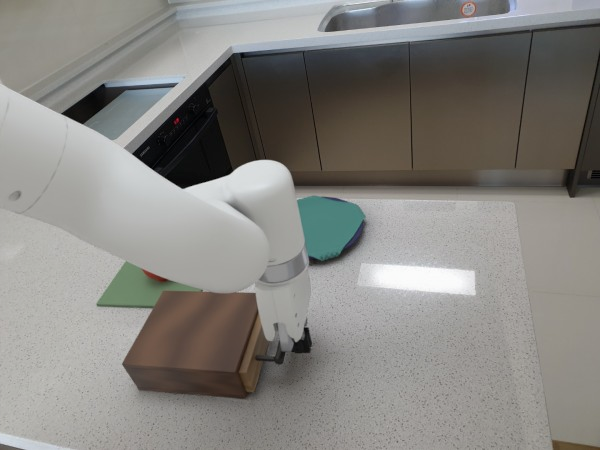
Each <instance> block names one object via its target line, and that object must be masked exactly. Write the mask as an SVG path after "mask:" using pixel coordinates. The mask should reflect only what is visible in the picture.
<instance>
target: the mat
mask: <svg viewBox="0 0 600 450" xmlns="http://www.w3.org/2000/svg"><path fill="white" fill-rule="evenodd" d="M163 291H203V290H202V289H198V288H195V287H191V286H187V285H184V284H180V283H177V282H174V281H171V280H168V281H165V282H159V281H157V280H154V279H151V278H149V277H148V276H146V275H145V274H144V272H143V271H142V269H141V268H140V267H137V266H135V265H133V264H131V263H129V262H127V261H125V262H124V263H123V264H122V266H121V267H120V269H119V270H118V272H117V273H116V275H115V276H114V277H113V279H112V280H111V282H110V283H109V284H108V286H107V287H106V289H105V291H104V292H103V293H102V295H101V296H100V298H99V299H98V301H97V302H96V303H95V305H96V306H97V307H113V308H114V307H117V308H144V309H145V308H146V309H153V308H154V306H155V304H156V302H157V301H158V299H159V297H160V295H161V293H162V292H163Z"/></svg>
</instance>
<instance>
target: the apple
mask: <svg viewBox="0 0 600 450" xmlns="http://www.w3.org/2000/svg"><path fill="white" fill-rule="evenodd" d="M141 269H142V268H141ZM142 271H143V272H144V274H145V275H146V276H148V277H149V278H151V279H154V280H157V281H159V282H165V281H168V279H165V278H163V277H160V276H158V275H155V274H153V273H151V272H148V271H146V270H144V269H142Z"/></svg>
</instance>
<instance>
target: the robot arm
mask: <svg viewBox="0 0 600 450" xmlns="http://www.w3.org/2000/svg"><path fill="white" fill-rule="evenodd" d="M297 200H298V199H297V194H296V189H295V184H294V180H293V176H292V173H291V172H290V170H289V169H288V167H286V165H284V164H283V163H281V162H279V161H276V160H273V159H259V160H253V161H250V162H247V163H244V164H241V165H240V166H238V167H237V168H235V169H234V170H233V171H232V172H231V173H230V174H228V175H225V176H222V177H219V178H216V179H212V180H209V181H206V182H202V183H201V182H200V183H198V184H194V185H192V186H188V187H185V188H181V187H180V186H179V185H176V184H175V183H173V182H172V181H170V180H168V179H167V178H165V177H164V176H162V175H161V174H159V173H158V172H156V171H155V170H153V169H152V168H150V167H149V166H148V165H147V164H145V163H144V162H143V161H142V160H140V159H139V158H137V156H135V155H133V154H132V153H131V152H130V151H128V150H127V149H126V148H124V147H122V146H121V145H120V144H118V143H117V142H115V141H113V140H111V139H110V138H109V137H107V136H105V135H103V134H102V133H100V132H99V131H96V130H95V129H92V128H90V127H89V126H86V125H85V124H82V123H80V122H78V121H76V120H74V119H72V118H70V117H68V116H66V115H64V114H62V113H59V112H57V111H55V110H53V109H51V108H50V107H47V106H46V105H43V104H41V103H39V102H37V101H35V100H34V99H32V98H29V97H27V96H25V95H23V94H21V93H19V92H17V91H15V90H13V89H11V88H10V87H8V86H7V85H5V84H2V83H0V209H1V210H2V209H3V210H5V211H9V212H12V213H15V214H17V215H20V216H24V217H27V218H30V219H33V220H36V221H39V222H42V223H45V224H47V225H51V226H53V227H56V228H58V229H61V230H63V231H65V232H67V233H68V234H70V235H72V236H74V237H75V238H76V239H79V240H80V241H82V242H84V243H86V244H89V245H90V246H93V247H94V248H98V249H100V250H102V251H104V252H106V253H109V254H111V255H113V256H115V257H117V258H119V259H121V260H123V261H125V262H126V261H127V262H129V263H131V264H133V265H135V266H137V267H140V268H142V269H144V270H146V271H148V272H151V273H153V274H155V275H158V276H160V277H163V278H165V279H168V280H171V281H174V282H177V283H180V284H184V285H187V286H191V287H195V288H198V289H202V291H204V292H214V293H234V292H242V291H245V290H246V289H248V288H250V287H252V286H253V285H254V290H255V292H254V293H256V300H257V306H258V311H259V316H260V320H261V324H262V328H263V332H264V335H265V338H266V339H267V340H268V341H269V342H274V340H275V336H276V333H277V332H278V333H277V334H278V340H280V346H281V351H282V352H286V353H293V354H296V355H297V354H299V355H301V354H311V351H312V347H313V341H312V338H311V332H310V327H309V326H308V311H309V307H310V302H311V295H312V284H311V279H310V274H309V269H308V268H309V265H310V259H309V258H308V253H307V248H306V243H305V238H304V233H303V228H302V223H301V218H300V213H299V208H298V203H297Z"/></svg>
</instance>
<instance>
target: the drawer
mask: <svg viewBox="0 0 600 450" xmlns="http://www.w3.org/2000/svg"><path fill="white" fill-rule="evenodd" d="M269 343H270V341H268V340H267V339H266V338H265V335H264V332H263V328H262V324H261V320H260V316H259V312H258V315H257V316H256V319H255V322H254V325H253V328H252V331H251V334H250V337H249V340H248V343H247V346H246V349H245V352H244V355H243V358H242V361H241V364H240V367H239V370H238V371H239V375H240V377H241V380H242V382H243V384H244V387H245V389H246V392H249V393H255V391H256V387H257V384H258V381H259V377H260V373H261V370H262V367H263V363H264V362H273V363H274V364H275V365H278V366H282V365H284V362H285V359H286V355H287V352H282V351H281V346H280V339H278V343H277V348H276V351H275V354H274V355H266V352H267V349H268V346H269Z"/></svg>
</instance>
